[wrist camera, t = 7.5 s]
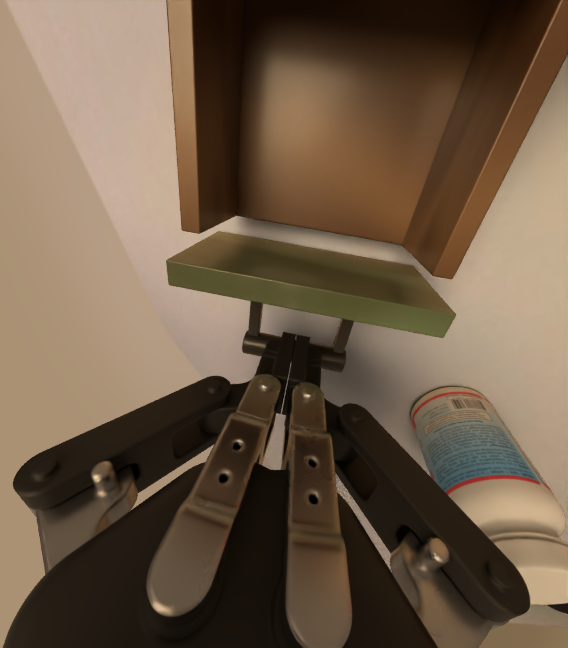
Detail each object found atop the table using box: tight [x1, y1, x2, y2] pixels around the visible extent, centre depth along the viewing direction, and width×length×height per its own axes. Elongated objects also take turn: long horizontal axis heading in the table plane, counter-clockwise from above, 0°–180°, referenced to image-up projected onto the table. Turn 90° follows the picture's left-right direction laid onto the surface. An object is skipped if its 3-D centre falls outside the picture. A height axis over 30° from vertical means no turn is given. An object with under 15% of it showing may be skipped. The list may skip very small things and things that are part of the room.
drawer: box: [166, 0, 568, 373], centre depth 12 cm, size 19×12×6 cm, turn 172°
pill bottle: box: [411, 387, 568, 605], centre depth 18 cm, size 6×6×11 cm
